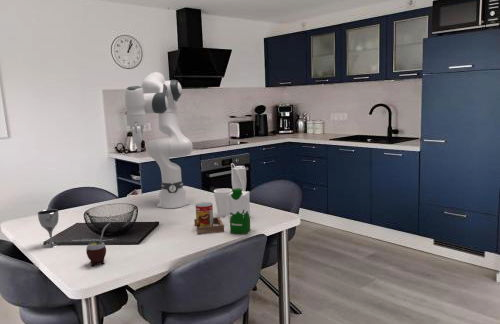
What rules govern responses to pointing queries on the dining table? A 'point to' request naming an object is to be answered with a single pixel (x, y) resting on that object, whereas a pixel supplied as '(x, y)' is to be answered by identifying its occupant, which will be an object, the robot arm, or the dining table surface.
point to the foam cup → (222, 201)
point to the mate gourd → (97, 251)
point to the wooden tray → (211, 227)
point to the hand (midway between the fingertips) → (139, 151)
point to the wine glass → (49, 223)
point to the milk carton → (239, 211)
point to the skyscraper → (239, 177)
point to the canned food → (204, 214)
